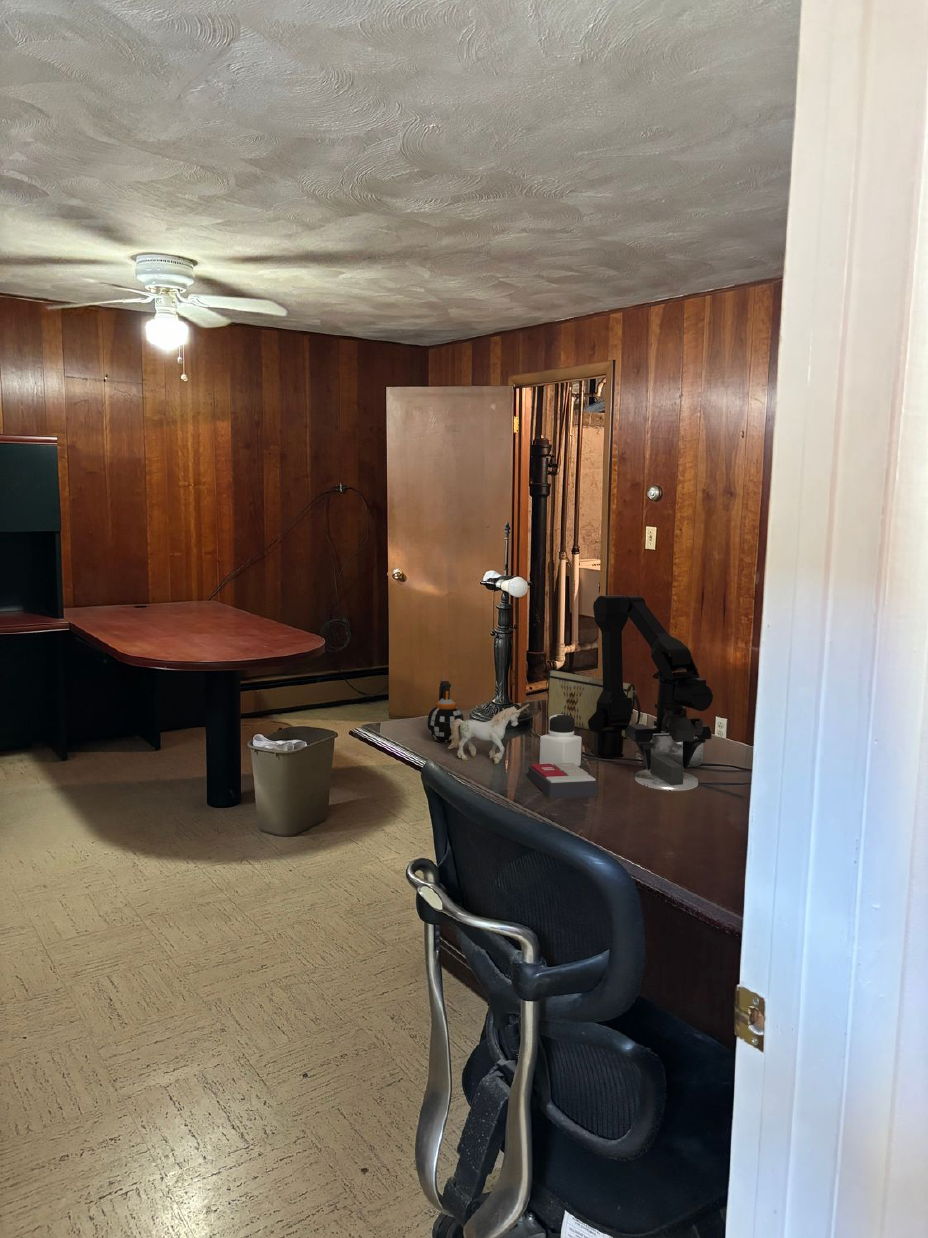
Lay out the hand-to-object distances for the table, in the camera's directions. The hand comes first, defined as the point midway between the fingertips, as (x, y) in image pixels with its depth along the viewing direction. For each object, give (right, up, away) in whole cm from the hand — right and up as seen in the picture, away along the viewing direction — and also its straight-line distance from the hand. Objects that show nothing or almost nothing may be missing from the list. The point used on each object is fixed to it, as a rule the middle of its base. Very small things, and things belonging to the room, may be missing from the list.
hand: (666, 768), depth 201 cm
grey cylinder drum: (+6, -1, +17) cm, 18 cm away
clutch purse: (-11, +3, +46) cm, 47 cm away
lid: (0, -3, 0) cm, 3 cm away
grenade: (-51, +2, +29) cm, 59 cm away
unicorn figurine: (-40, 0, +15) cm, 42 cm away
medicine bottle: (-23, -1, +10) cm, 25 cm away
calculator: (-24, -4, -6) cm, 25 cm away
